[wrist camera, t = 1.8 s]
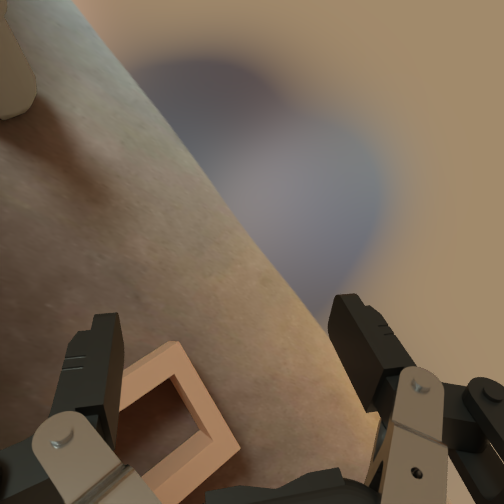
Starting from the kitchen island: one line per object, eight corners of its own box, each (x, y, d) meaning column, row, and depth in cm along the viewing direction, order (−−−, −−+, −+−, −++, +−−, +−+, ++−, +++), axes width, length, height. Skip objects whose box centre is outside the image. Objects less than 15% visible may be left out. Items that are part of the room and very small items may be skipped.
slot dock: (130, 516, 31) (136, 540, 27) (65, 407, 30) (63, 416, 27) (224, 436, 35) (240, 448, 31) (169, 340, 35) (179, 341, 31)
